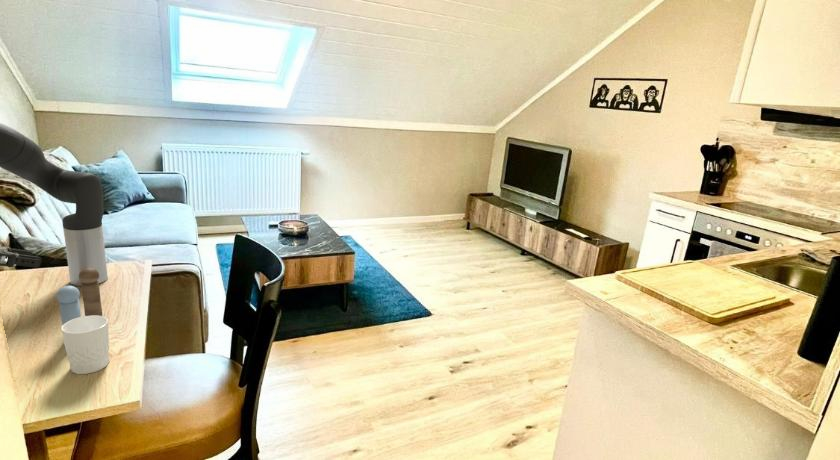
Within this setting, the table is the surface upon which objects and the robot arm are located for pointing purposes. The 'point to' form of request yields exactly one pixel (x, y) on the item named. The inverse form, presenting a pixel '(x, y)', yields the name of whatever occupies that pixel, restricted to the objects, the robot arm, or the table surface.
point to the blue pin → (69, 303)
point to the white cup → (86, 343)
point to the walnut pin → (90, 291)
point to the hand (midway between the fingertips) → (35, 259)
